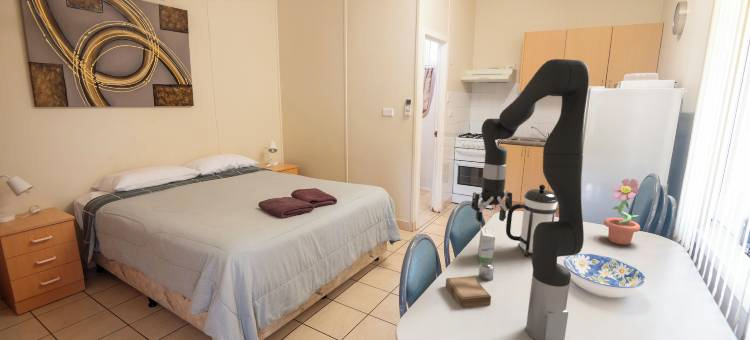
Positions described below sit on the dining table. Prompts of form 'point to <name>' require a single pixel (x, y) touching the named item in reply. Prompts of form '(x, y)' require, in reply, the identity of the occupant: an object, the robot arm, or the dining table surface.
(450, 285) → the tray
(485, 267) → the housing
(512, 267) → the dining table surface
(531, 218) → the coffee press
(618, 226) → the decorative flower
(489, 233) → the ink box
